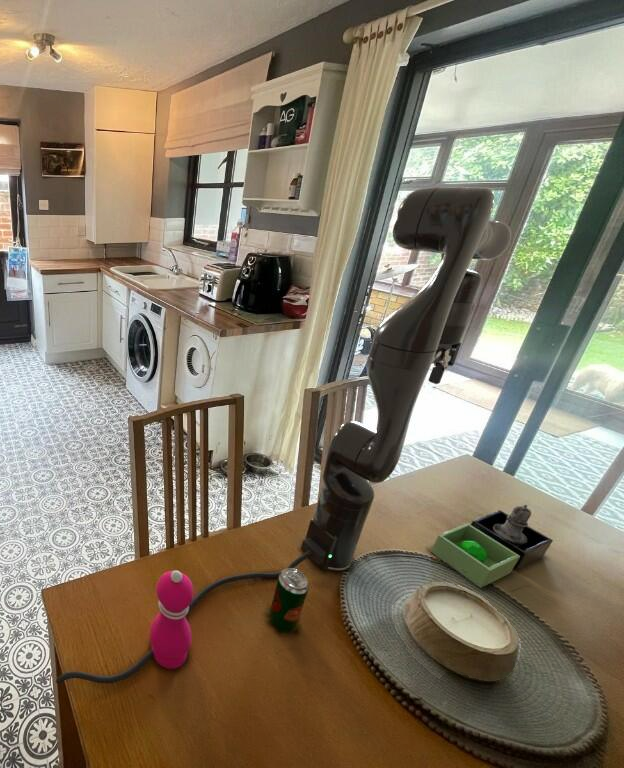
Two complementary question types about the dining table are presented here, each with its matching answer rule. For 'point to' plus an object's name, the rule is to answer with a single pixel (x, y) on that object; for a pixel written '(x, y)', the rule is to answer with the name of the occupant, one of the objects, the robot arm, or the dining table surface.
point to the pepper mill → (172, 620)
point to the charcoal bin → (526, 551)
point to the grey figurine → (514, 526)
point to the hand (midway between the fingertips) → (421, 385)
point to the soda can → (288, 600)
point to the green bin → (479, 573)
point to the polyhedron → (474, 550)
